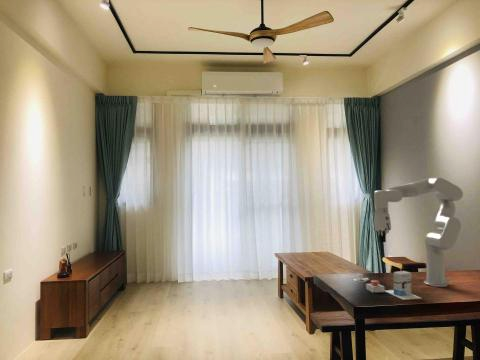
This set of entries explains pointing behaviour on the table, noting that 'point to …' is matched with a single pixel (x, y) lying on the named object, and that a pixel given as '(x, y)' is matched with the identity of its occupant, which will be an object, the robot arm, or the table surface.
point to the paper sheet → (405, 297)
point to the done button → (374, 282)
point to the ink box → (402, 283)
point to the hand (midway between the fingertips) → (382, 242)
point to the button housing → (375, 288)
